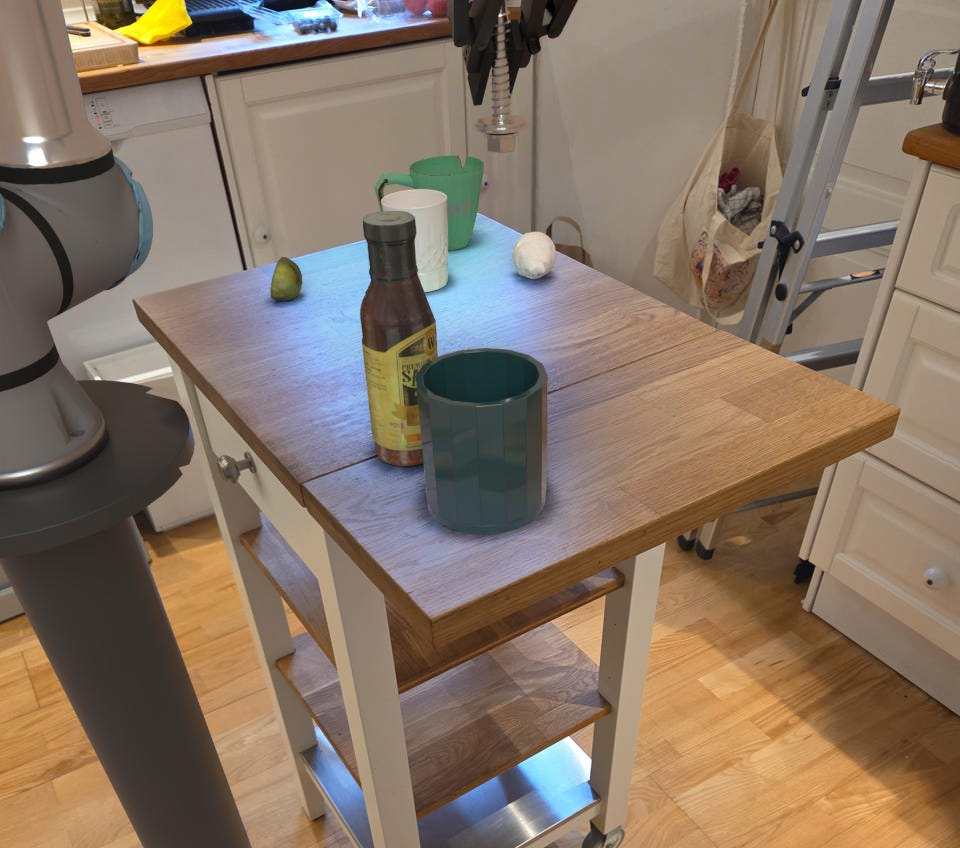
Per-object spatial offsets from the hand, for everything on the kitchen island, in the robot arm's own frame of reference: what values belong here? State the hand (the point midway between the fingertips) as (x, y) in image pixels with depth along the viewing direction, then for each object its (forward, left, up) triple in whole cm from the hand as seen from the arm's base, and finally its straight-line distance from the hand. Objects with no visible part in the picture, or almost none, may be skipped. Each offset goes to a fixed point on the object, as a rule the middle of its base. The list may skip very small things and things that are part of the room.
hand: (488, 89), depth 80 cm
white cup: (-22, +2, -24) cm, 33 cm away
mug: (-34, +10, -24) cm, 43 cm away
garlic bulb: (-14, +14, -24) cm, 31 cm away
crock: (+26, -16, -24) cm, 39 cm away
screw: (+4, -1, -4) cm, 6 cm away
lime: (-27, -14, -24) cm, 39 cm away
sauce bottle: (+15, -18, -24) cm, 34 cm away
